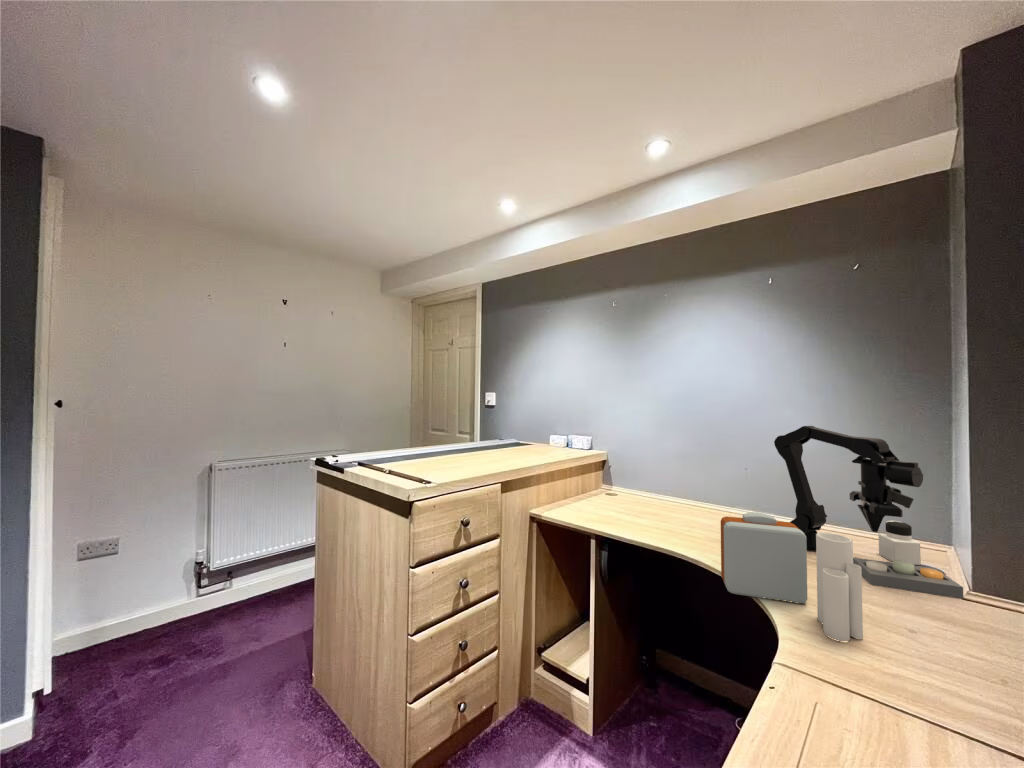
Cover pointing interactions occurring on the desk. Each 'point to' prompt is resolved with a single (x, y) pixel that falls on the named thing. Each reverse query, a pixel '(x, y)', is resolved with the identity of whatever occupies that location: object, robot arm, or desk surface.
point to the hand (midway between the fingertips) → (874, 531)
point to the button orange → (931, 573)
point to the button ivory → (876, 566)
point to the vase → (838, 587)
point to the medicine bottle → (899, 543)
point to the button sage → (903, 567)
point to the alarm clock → (764, 557)
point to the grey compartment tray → (910, 580)
